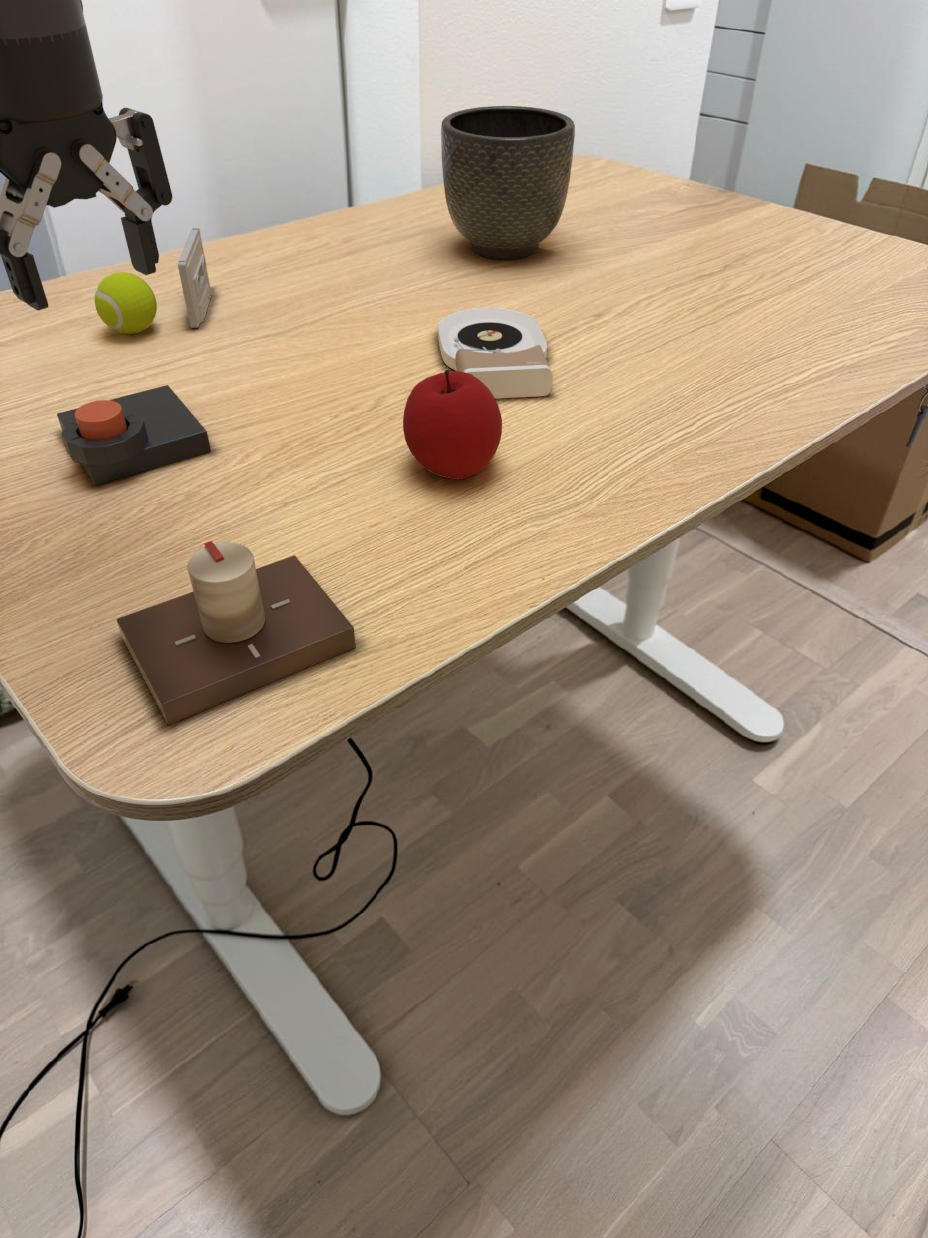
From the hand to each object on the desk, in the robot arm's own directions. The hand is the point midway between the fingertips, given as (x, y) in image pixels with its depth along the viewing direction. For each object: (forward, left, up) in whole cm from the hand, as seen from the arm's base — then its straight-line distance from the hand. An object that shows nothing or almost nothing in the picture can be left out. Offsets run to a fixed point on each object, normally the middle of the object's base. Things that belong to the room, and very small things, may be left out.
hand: (93, 288), depth 65 cm
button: (-1, +10, -16) cm, 19 cm away
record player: (+42, +10, -20) cm, 47 cm away
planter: (+62, +37, -20) cm, 75 cm away
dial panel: (0, -19, -20) cm, 28 cm away
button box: (+2, +13, -20) cm, 24 cm away
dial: (0, -19, -18) cm, 26 cm away
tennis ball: (+10, +38, -20) cm, 44 cm away
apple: (+26, -7, -20) cm, 33 cm away
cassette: (+19, +40, -20) cm, 48 cm away
